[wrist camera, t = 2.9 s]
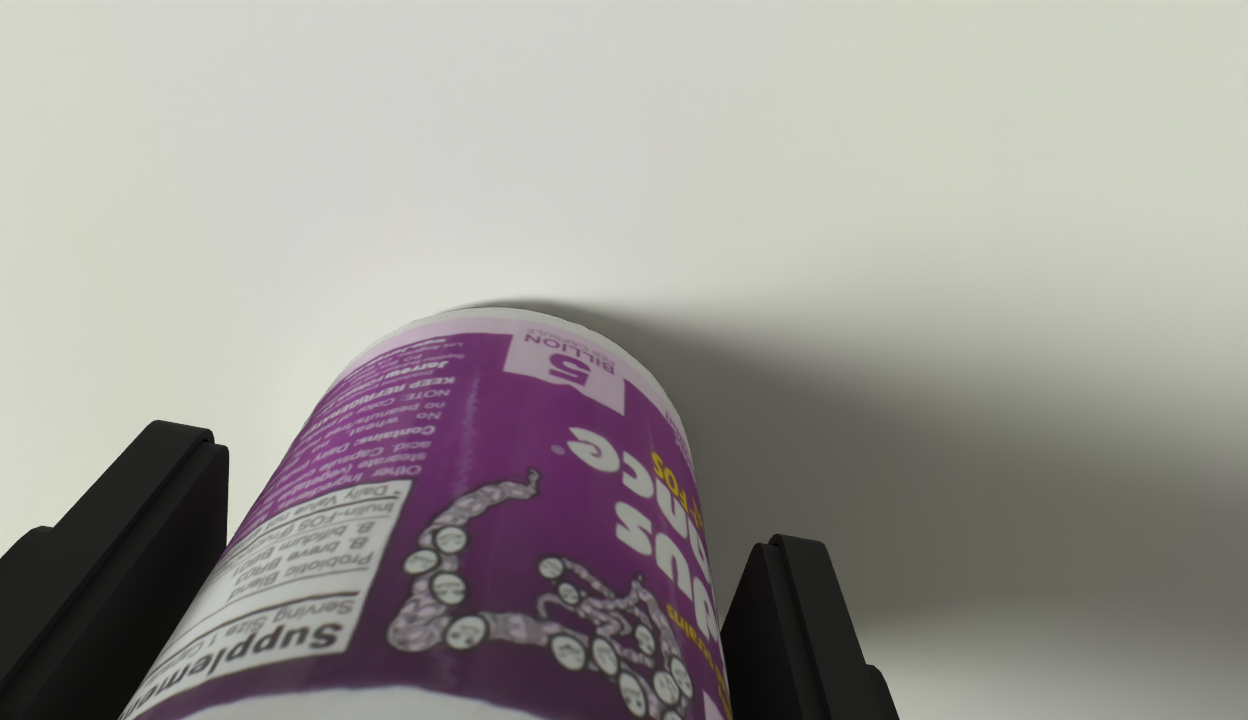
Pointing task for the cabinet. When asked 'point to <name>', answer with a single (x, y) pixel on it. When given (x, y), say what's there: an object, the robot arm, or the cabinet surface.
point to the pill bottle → (464, 546)
